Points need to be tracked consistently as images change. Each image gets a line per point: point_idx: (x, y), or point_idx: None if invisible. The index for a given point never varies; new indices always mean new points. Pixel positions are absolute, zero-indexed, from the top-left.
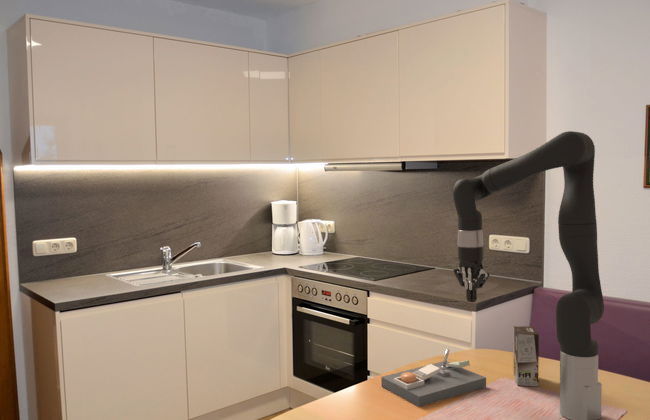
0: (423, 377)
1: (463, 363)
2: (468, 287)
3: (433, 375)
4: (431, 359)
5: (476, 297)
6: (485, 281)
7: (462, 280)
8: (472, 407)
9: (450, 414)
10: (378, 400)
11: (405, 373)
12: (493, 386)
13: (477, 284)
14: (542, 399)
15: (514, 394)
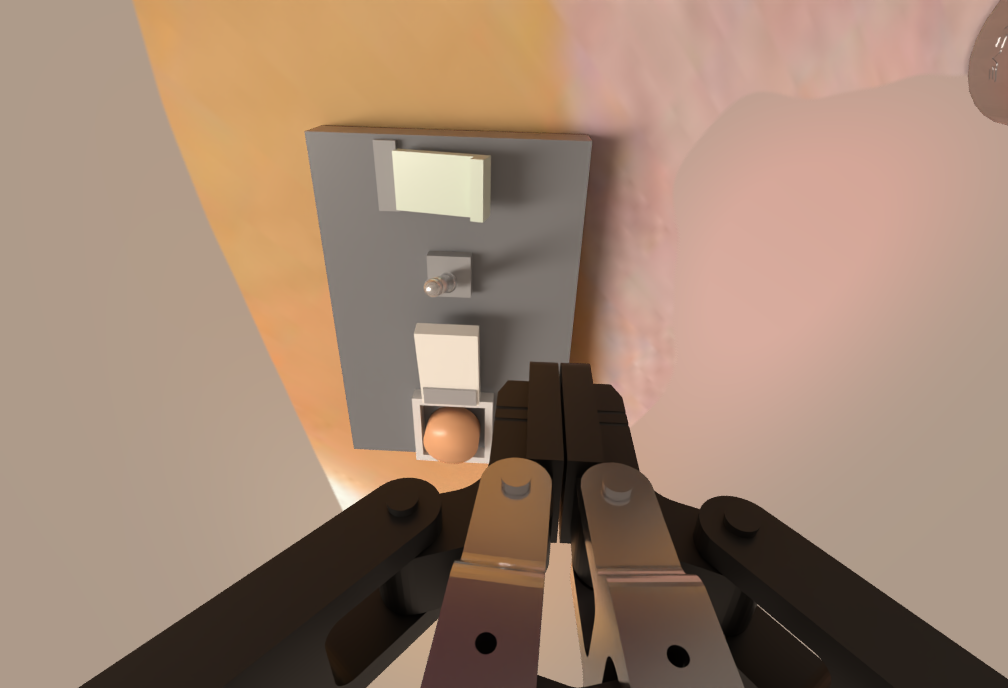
0: (479, 399)
1: (485, 200)
2: (546, 568)
3: (437, 309)
4: (162, 73)
5: (624, 410)
6: (950, 646)
7: (389, 652)
8: (671, 323)
9: (653, 405)
10: (451, 485)
11: (431, 441)
12: (603, 97)
13: (791, 677)
14: (852, 25)
15: (723, 92)
